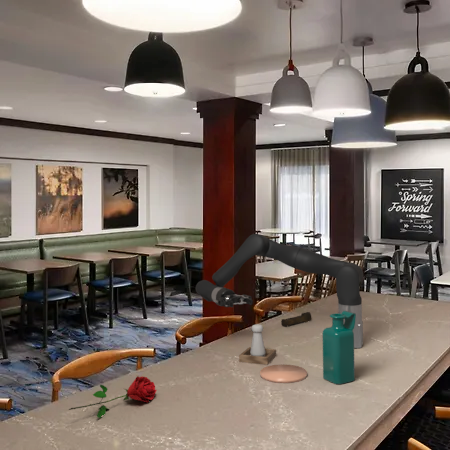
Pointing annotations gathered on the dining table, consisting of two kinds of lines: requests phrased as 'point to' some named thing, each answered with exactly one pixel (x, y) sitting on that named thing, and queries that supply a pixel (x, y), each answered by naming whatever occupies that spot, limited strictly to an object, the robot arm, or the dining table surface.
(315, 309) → the dining table surface
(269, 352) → the brown wooden square frame
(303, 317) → the hand tool
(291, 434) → the dining table surface
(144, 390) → the flower
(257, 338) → the salt shaker
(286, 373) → the terracotta pad
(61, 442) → the dining table surface
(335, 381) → the pitcher
